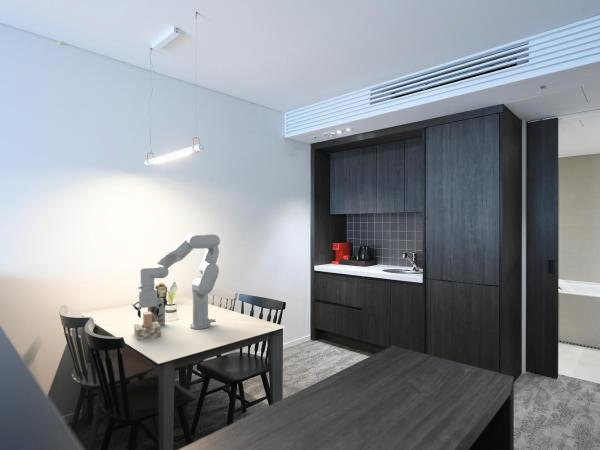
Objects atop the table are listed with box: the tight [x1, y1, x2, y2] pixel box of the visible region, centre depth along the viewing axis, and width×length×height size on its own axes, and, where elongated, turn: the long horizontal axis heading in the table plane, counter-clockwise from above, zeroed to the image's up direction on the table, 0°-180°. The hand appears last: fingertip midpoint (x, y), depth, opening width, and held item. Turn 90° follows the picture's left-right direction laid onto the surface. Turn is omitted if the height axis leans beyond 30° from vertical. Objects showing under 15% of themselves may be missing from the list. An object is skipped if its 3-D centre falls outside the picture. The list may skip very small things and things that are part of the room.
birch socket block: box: [133, 322, 162, 341], centre depth 217 cm, size 13×13×6 cm
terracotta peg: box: [142, 311, 152, 328], centre depth 217 cm, size 6×4×12 cm
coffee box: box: [147, 300, 166, 327], centre depth 238 cm, size 9×6×16 cm
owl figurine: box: [155, 282, 168, 306], centre depth 298 cm, size 18×12×17 cm, turn 45°
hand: (148, 316), depth 217 cm, fingers open, 9 cm apart
